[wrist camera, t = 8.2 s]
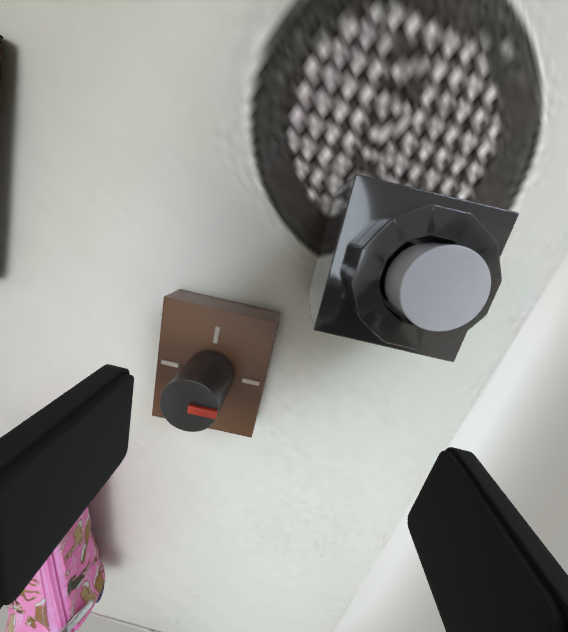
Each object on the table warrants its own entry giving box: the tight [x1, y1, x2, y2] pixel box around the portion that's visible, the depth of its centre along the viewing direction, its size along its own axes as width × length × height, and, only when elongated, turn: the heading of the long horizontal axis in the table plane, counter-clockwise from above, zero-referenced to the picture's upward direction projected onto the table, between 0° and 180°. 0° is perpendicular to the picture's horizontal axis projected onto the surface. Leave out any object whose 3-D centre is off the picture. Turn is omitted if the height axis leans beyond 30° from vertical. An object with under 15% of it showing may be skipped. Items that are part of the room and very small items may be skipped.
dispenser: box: [309, 174, 519, 362], centre depth 18 cm, size 8×8×11 cm
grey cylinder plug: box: [385, 243, 491, 331], centre depth 12 cm, size 3×3×2 cm
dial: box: [160, 350, 234, 432], centre depth 21 cm, size 4×4×5 cm
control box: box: [152, 289, 280, 437], centre depth 25 cm, size 11×9×3 cm
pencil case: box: [6, 507, 105, 632], centre depth 28 cm, size 21×9×9 cm, turn 174°
